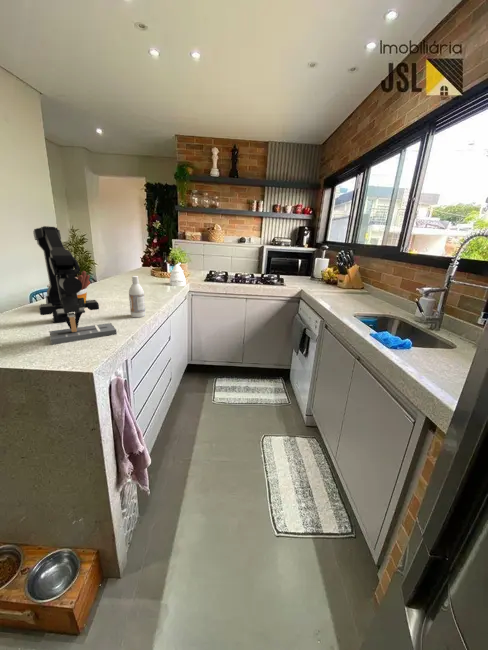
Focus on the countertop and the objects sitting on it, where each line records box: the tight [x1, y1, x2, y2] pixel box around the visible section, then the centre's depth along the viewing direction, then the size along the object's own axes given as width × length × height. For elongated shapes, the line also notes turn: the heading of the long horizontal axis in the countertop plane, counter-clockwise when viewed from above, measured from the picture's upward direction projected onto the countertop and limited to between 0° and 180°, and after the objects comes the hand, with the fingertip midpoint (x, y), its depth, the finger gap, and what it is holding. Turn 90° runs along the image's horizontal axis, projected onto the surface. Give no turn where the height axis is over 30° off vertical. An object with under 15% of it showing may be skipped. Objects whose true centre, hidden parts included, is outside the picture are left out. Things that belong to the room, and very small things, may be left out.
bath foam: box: [128, 275, 146, 318], centre depth 131 cm, size 7×7×20 cm
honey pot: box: [169, 262, 187, 287], centre depth 217 cm, size 13×13×18 cm
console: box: [48, 322, 118, 346], centre depth 106 cm, size 10×22×2 cm, turn 127°
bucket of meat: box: [46, 270, 91, 302], centre depth 139 cm, size 20×16×20 cm
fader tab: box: [68, 312, 77, 332], centre depth 103 cm, size 3×2×7 cm, turn 37°
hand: (73, 328), depth 103 cm, fingers closed on fader tab, 2 cm apart
